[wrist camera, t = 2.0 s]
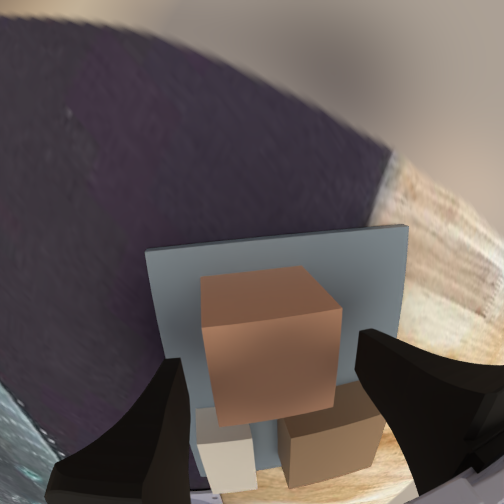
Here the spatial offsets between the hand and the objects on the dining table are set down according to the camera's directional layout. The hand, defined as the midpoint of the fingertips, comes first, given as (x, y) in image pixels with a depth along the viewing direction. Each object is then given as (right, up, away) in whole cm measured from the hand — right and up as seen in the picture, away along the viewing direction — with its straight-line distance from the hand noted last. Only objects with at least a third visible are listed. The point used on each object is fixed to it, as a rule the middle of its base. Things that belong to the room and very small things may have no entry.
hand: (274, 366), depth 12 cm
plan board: (+1, -3, +7) cm, 7 cm away
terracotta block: (-1, +1, +4) cm, 5 cm away
